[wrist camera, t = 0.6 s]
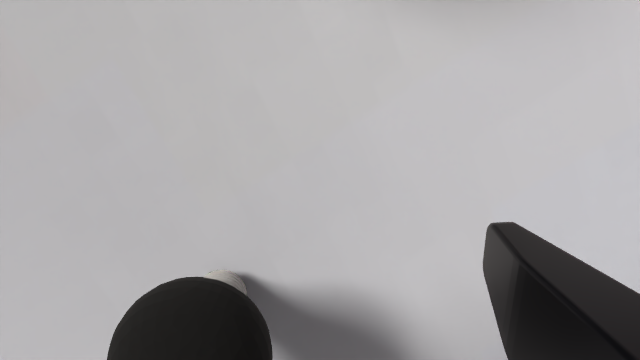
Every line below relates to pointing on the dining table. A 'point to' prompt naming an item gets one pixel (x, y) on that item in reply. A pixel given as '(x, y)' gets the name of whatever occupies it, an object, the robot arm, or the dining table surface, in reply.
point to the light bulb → (193, 323)
